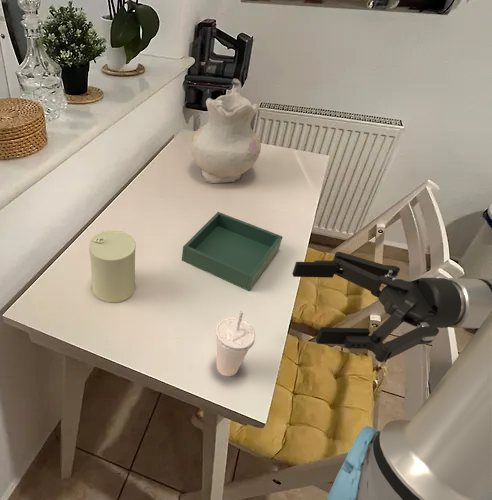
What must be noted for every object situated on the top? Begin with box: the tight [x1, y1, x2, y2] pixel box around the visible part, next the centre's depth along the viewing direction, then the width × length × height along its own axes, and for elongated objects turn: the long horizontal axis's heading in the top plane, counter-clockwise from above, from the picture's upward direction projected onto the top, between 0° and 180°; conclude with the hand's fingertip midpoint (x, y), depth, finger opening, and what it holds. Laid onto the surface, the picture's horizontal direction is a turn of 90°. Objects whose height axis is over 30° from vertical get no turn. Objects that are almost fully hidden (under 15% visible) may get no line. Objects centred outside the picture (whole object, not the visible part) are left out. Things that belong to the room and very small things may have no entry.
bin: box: [181, 211, 283, 292], centre depth 98 cm, size 17×17×4 cm
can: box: [88, 230, 137, 303], centre depth 87 cm, size 9×9×12 cm
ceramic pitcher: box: [190, 77, 262, 184], centre depth 120 cm, size 22×20×25 cm
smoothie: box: [214, 310, 256, 377], centre depth 71 cm, size 6×6×14 cm
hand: (305, 299), depth 65 cm, fingers open, 13 cm apart
